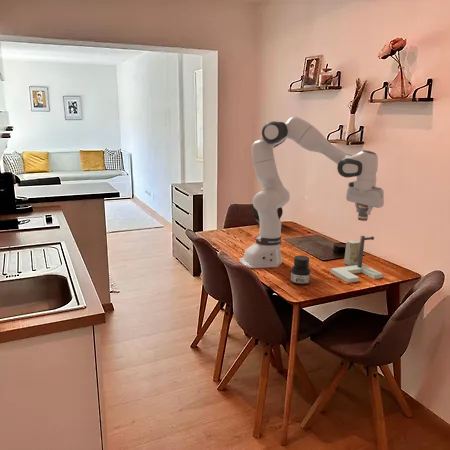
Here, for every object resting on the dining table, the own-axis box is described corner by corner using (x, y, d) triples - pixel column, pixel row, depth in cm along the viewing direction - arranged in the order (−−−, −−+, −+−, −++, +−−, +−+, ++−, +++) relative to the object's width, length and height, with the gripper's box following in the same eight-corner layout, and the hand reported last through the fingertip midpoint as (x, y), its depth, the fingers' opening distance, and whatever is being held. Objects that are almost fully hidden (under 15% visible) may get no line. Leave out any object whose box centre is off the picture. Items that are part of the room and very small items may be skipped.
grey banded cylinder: (363, 221, 199) (364, 204, 197) (355, 219, 202) (356, 203, 201) (369, 220, 201) (371, 204, 199) (362, 218, 205) (363, 202, 203)
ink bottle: (287, 284, 190) (289, 259, 187) (291, 277, 198) (293, 253, 195) (309, 287, 187) (311, 262, 184) (311, 280, 195) (313, 256, 192)
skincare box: (349, 266, 215) (351, 243, 212) (343, 263, 219) (345, 241, 216) (358, 264, 218) (361, 242, 215) (352, 261, 222) (355, 239, 219)
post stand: (348, 282, 193) (352, 246, 189) (330, 272, 206) (333, 237, 201) (386, 277, 201) (390, 241, 197) (366, 267, 214) (370, 233, 209)
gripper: (388, 187, 190) (385, 217, 194) (354, 181, 207) (352, 208, 211) (379, 188, 187) (375, 218, 191) (345, 182, 204) (343, 210, 208)
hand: (363, 213), depth 201 cm, fingers closed on grey banded cylinder, 4 cm apart
